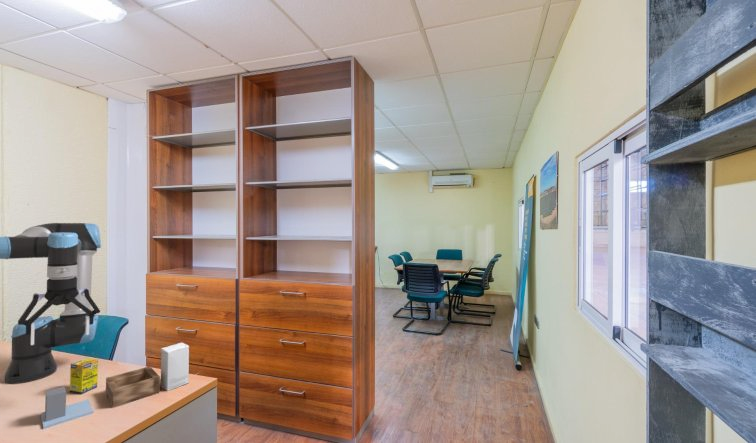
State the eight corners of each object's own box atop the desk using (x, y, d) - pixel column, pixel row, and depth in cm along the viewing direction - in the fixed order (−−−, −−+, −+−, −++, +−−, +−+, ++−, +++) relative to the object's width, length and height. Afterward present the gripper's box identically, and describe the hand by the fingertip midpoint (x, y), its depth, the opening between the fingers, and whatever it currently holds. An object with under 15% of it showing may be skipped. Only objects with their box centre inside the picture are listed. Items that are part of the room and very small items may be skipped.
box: (149, 381, 134) (150, 366, 134) (159, 392, 126) (159, 376, 126) (105, 394, 124) (106, 377, 124) (112, 407, 115) (113, 389, 115)
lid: (88, 401, 119) (89, 377, 119) (93, 413, 112) (94, 387, 112) (41, 415, 110) (41, 388, 110) (43, 429, 103) (44, 401, 103)
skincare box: (181, 378, 137) (182, 341, 137) (189, 383, 133) (190, 345, 133) (159, 386, 130) (160, 347, 130) (166, 392, 126) (167, 351, 127)
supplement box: (81, 394, 123) (82, 365, 124) (69, 392, 125) (69, 363, 125) (98, 386, 129) (98, 359, 129) (85, 385, 130) (86, 357, 131)
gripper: (7, 283, 101) (6, 352, 101) (110, 275, 119) (109, 332, 120) (8, 279, 106) (6, 345, 106) (106, 272, 124) (105, 327, 125)
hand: (60, 338), depth 113 cm, fingers open, 13 cm apart
